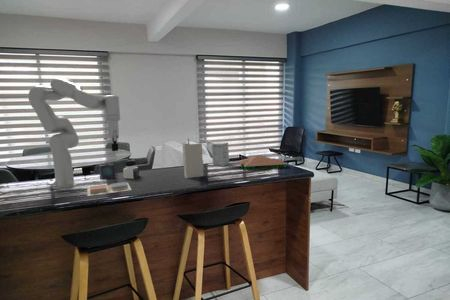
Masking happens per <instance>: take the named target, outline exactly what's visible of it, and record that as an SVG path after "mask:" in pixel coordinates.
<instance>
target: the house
mask: <svg viewBox="0 0 450 300" xmlns="http://www.w3.org/2000/svg"><path fill="white" fill-rule="evenodd" d="M237 164H238V165H240V168H241V169H244V170H247V168H248V170H251V169H252V170H258V167H259V169H263V170H266V167H267V166H272V169H273V170H274V169H275V168H276V169H280V168H281V169H282V167H283V168H285V169H286V168H287V165H288V163H287V162H285V161H283V160H282V159H278V158H271V157H267V156H264V155H256V156H252V157H251V156H250V157H248V158H244V159H241V160H238V161H237Z"/></svg>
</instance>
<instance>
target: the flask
mask: <svg viewBox="0 0 450 300" xmlns="http://www.w3.org/2000/svg"><path fill="white" fill-rule="evenodd" d="M98 171H99V172H98V173H99V179H100V180H104V179H106V180H107V179H114V178H115V177H116V175H115V165H114V163H108V161H106V162H104V164H101V165H98Z"/></svg>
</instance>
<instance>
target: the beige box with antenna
mask: <svg viewBox="0 0 450 300" xmlns="http://www.w3.org/2000/svg"><path fill="white" fill-rule="evenodd" d="M182 157H183V158H182V159H183V173H184V178H186V179H191V178H198V177H204V174H205V173H204V160H203V143H202V142H198V143H191V144H190V139H189V137H187V143H182Z"/></svg>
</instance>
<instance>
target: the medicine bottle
mask: <svg viewBox="0 0 450 300" xmlns="http://www.w3.org/2000/svg"><path fill="white" fill-rule="evenodd" d="M122 173H123V179H131V180H132V179H136V178H138V177H140V171H139V166H136V160H135V159H128V160H127V159H126V161H125V167H124V168H123V169H122Z"/></svg>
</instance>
